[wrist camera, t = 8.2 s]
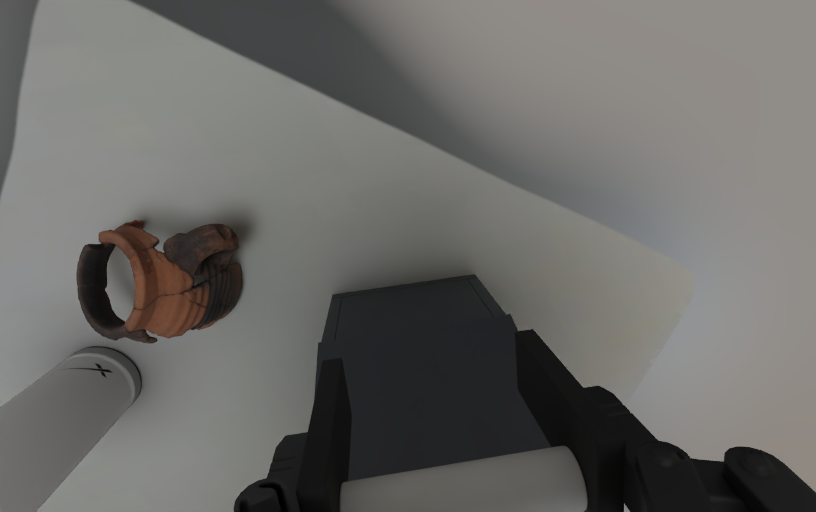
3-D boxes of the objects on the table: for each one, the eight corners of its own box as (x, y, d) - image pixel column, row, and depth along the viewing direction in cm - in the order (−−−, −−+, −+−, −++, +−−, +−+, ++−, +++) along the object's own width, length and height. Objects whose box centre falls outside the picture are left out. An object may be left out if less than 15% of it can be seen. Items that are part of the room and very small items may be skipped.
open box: (486, 420, 41) (518, 495, 32) (358, 440, 40) (355, 523, 31) (475, 274, 36) (507, 315, 28) (332, 294, 36) (320, 343, 27)
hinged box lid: (650, 631, 15) (725, 536, 11) (300, 698, 14) (224, 627, 10) (509, 323, 28) (517, 222, 23) (321, 352, 27) (292, 253, 23)
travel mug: (117, 332, 35) (-188, 568, 16) (155, 397, 37) (-76, 678, 18) (46, 356, 35) (-345, 621, 16) (87, 420, 37) (-217, 726, 18)
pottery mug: (204, 347, 37) (103, 378, 29) (156, 257, 38) (49, 264, 31) (294, 268, 32) (202, 281, 25) (235, 171, 34) (133, 155, 26)
